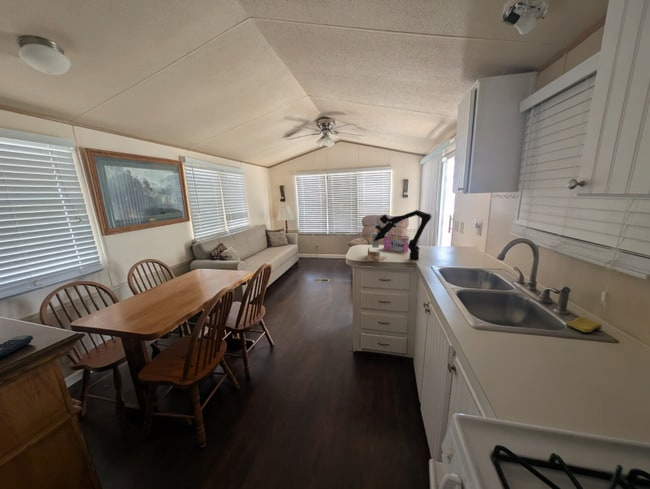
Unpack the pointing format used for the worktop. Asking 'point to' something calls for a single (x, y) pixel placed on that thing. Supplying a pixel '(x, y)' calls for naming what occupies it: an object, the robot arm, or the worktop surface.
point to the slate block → (375, 243)
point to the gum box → (396, 242)
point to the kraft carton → (375, 256)
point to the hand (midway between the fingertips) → (374, 240)
